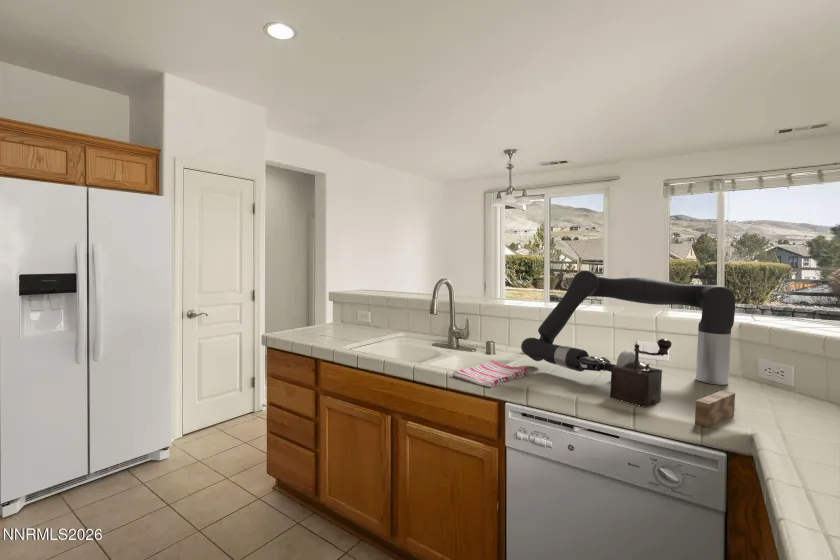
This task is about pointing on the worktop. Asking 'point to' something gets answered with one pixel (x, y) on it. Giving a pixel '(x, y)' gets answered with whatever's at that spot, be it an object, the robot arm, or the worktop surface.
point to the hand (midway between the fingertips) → (618, 369)
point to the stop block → (714, 408)
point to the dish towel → (490, 374)
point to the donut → (626, 357)
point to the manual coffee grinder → (638, 379)
